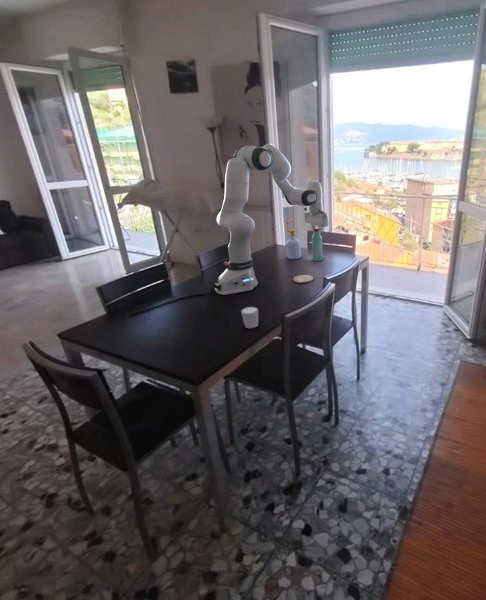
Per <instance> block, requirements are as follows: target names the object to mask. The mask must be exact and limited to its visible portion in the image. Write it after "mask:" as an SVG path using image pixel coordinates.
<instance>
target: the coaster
mask: <svg viewBox="0 0 486 600" xmlns="http://www.w3.org/2000/svg"><path fill="white" fill-rule="evenodd" d="M292 280H293V283H295V284H309V283H312V282H313V281H314V276H313V275H310V274H300V275H296V276H294V277H293V279H292Z"/></svg>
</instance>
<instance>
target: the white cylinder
mask: <svg viewBox="0 0 486 600" xmlns="http://www.w3.org/2000/svg"><path fill="white" fill-rule="evenodd" d="M240 312H241V317H242V321H243V324H244V327H245V328H247V329H255V328H256V327H258V326H259V309H258V307H256V306H248V307H247V306H246V307H244V308H243V309H241V311H240Z"/></svg>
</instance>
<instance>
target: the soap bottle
mask: <svg viewBox="0 0 486 600" xmlns="http://www.w3.org/2000/svg"><path fill="white" fill-rule="evenodd" d="M294 221H295V219H294V218H293V219H290V220H288V221H287V222H286V231H287V232H288V233H290V234H289V239H288V240H286V242H285V247H286V256H287V259H288V260H298V259H300V258H301V257H302V251H301V250H302V249H301V241H300V240H299V239H298V238H296V234H295V233H296V231H297V229H289V228H290V227H289V223H292V222H294Z"/></svg>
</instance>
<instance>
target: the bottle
mask: <svg viewBox="0 0 486 600" xmlns="http://www.w3.org/2000/svg"><path fill="white" fill-rule="evenodd" d="M311 255H312V261H314V262H321V261H323V258H324V257H323V237H322V234H321V233H318V232H314V231H313V234H312V236H311Z"/></svg>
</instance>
